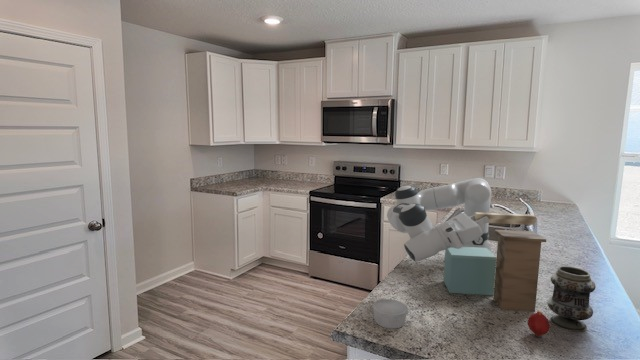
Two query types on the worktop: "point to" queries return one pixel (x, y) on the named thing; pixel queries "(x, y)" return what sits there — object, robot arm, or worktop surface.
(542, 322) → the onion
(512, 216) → the rod
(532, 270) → the tall stand
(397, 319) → the ramekin
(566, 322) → the apothecary jar
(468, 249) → the low block
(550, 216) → the worktop surface
